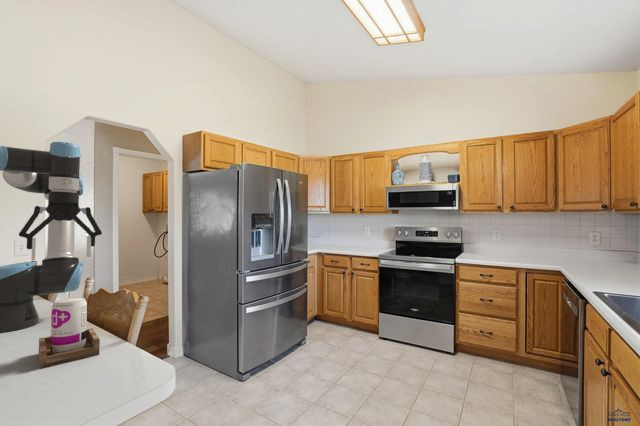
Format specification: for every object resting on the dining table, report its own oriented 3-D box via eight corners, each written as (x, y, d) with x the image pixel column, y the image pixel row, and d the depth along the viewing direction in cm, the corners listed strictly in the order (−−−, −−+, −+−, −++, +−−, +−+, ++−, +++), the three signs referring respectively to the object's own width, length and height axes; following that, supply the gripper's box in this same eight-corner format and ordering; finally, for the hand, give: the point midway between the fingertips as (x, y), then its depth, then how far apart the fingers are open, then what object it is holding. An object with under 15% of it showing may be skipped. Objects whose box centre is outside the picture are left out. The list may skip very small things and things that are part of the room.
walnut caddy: (38, 353, 93) (39, 338, 93) (92, 342, 102) (92, 328, 102) (40, 368, 83) (40, 351, 84) (99, 354, 92) (99, 339, 92)
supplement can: (66, 357, 88) (67, 303, 88) (42, 355, 89) (44, 302, 90) (92, 346, 96) (93, 297, 96) (70, 344, 97) (71, 295, 98)
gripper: (8, 188, 88) (6, 263, 88) (112, 193, 106) (111, 256, 106) (9, 189, 94) (7, 259, 94) (108, 194, 111) (106, 254, 111)
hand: (62, 258), depth 100 cm, fingers open, 13 cm apart
